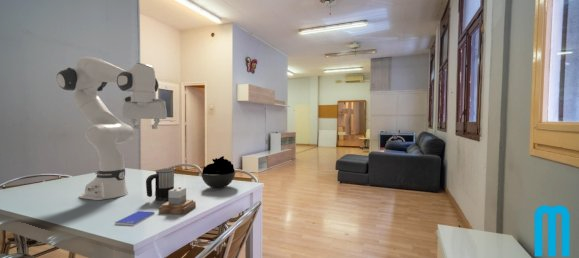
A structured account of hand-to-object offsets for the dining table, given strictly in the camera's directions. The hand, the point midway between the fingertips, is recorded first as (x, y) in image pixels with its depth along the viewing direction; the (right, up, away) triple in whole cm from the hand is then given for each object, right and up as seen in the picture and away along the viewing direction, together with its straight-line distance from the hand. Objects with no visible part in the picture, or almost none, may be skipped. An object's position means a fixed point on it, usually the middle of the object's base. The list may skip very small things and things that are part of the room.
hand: (145, 128), depth 117 cm
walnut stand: (+16, -37, -1) cm, 40 cm away
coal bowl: (+24, -37, +37) cm, 57 cm away
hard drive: (+3, -38, -12) cm, 40 cm away
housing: (+16, -34, -1) cm, 37 cm away
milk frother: (+3, -37, +13) cm, 40 cm away
